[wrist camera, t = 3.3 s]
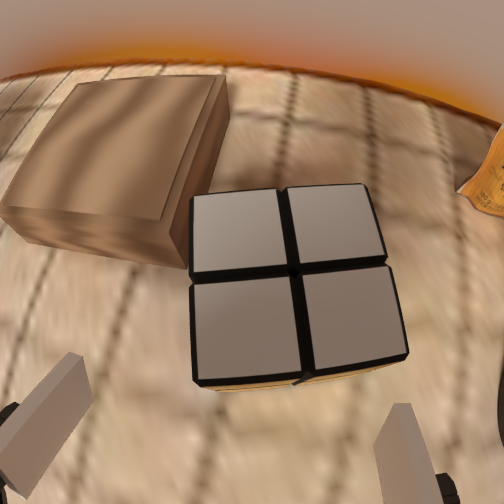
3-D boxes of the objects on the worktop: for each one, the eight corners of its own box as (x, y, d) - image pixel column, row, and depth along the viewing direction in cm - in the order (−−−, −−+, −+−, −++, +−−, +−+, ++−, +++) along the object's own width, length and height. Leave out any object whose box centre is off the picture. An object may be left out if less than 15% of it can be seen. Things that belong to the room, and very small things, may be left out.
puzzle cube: (211, 266, 26) (187, 192, 17) (333, 254, 26) (366, 178, 17) (219, 393, 22) (191, 388, 13) (355, 376, 22) (414, 357, 13)
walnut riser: (229, 118, 34) (225, 73, 28) (186, 269, 26) (167, 231, 20) (93, 118, 35) (76, 82, 30) (28, 242, 27) (-7, 210, 22)
